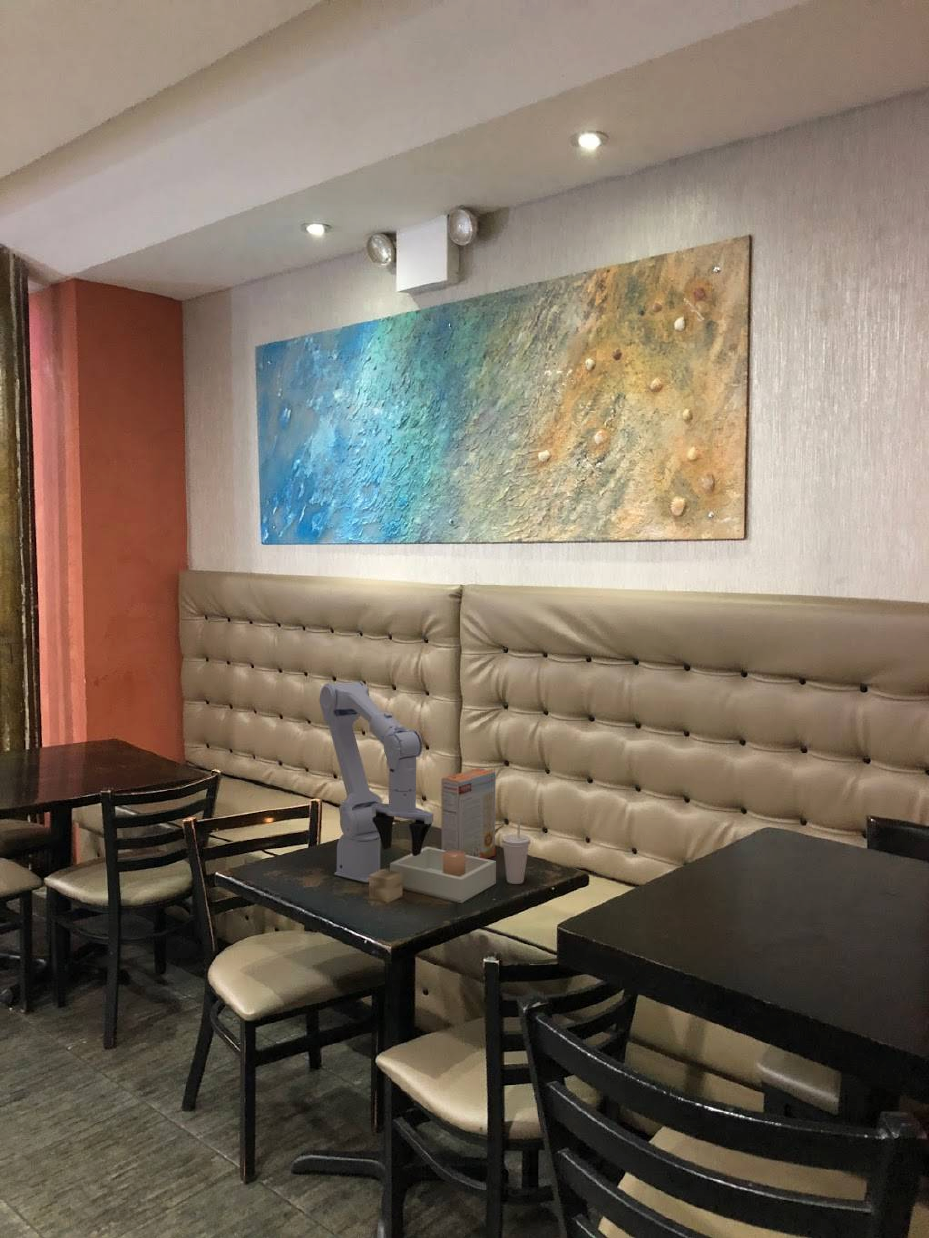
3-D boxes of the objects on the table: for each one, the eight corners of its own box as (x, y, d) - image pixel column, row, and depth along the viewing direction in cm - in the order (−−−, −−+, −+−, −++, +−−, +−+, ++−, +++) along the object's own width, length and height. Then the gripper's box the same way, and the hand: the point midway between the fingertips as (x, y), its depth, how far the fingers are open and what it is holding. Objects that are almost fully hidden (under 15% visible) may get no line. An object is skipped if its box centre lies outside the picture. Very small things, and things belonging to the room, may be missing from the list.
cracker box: (476, 851, 233) (477, 766, 232) (495, 856, 229) (497, 770, 228) (439, 865, 222) (440, 776, 221) (459, 870, 219) (460, 781, 217)
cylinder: (437, 886, 207) (438, 854, 206) (450, 879, 211) (450, 848, 210) (457, 890, 204) (457, 858, 204) (469, 883, 208) (470, 852, 208)
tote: (389, 885, 208) (390, 863, 208) (426, 867, 220) (426, 846, 220) (461, 903, 198) (461, 879, 198) (495, 883, 211) (496, 861, 210)
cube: (369, 898, 201) (369, 875, 200) (383, 891, 205) (383, 868, 205) (388, 903, 198) (388, 879, 198) (402, 896, 202) (402, 873, 202)
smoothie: (527, 887, 209) (528, 824, 208) (498, 884, 210) (499, 822, 209) (531, 877, 215) (532, 816, 214) (503, 875, 216) (504, 814, 215)
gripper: (363, 787, 201) (362, 850, 202) (420, 797, 194) (419, 862, 195) (382, 780, 208) (381, 841, 209) (439, 790, 200) (438, 853, 201)
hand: (401, 851), depth 202 cm, fingers open, 7 cm apart
